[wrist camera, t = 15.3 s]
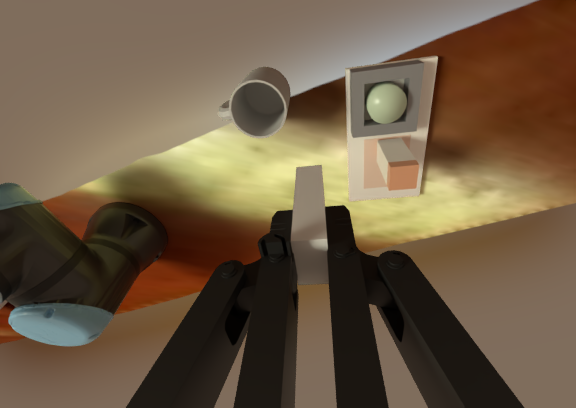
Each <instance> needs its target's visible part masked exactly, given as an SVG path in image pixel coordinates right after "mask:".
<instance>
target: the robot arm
mask: <svg viewBox="0 0 576 408" xmlns="http://www.w3.org/2000/svg"><path fill="white" fill-rule="evenodd" d="M42 203H43V202H42V201H41V200H37V199H36V198H35V197H34V196H33V195H31V194H30V193H29V192H28V191H27V190H26V189H24V188H23V187H22V186H20V185H18V184H14V183H3V184H0V304H1V303H2V302H3V301H5V300H6V301H8V302H9V303H11V304H12V305H14V306H15V307H16V308H15V309H14V310H13V311H12V312H11V315H10V317H9V324H10V325H11V326H12V328H13V329H14V330H15V331H16V332H18V333H20V334H21V335H23V336H26V337H28V338H30V339H33V340H36V341H39V342H43V343H47V344H52V345H59V346H79V345H84V344H87V343H90V342H92V341H94V340H95V339H96V338H98V336H99V335H100V334H101V333H102V331H103V330H104V329H105V327H106V326H107V325H108V323H109V322H110V321H111V320H112V319H113V316H114V314H115V312H116V311H117V309H118V308H119V306H120V304H121V303H122V301H123V299H124V298H125V296H126V294H127V293H128V291H129V290H130V288H131V286H132V285H133V283H134V281H135V280H136V278H137V277H138V275H139V274H140V273H141V272H142V271H143V270H145V269H146V268H147V267H148V266H150V265H151V264H152V263H153V262H155V261H156V260H157V259H158V258H159V257H160V256H161V255H162V253H163V251H164V250H165V248H166V246H167V241H168V239H167V234H166V231H165V229H164V227H163V226H162V224H161V223H160V222H159V221H158V220H157V219H156V218H155V217H154V216H153V215H152V214H150V213H149V212H147V211H146V210H144V209H142V208H140V207H137V206H135V205H131V204H127V203H109V204H106V205H104V206H102V207H101V208H99V209H98V210H97V211H96V212H95V213H94V214H93V215H92V217H91V218H90V220H89V222H88V225H87V229H86V231H85V233H84V236H83V238H82V240H80V239H79V238H78V237H77V236H76V235H75V234H74V233H73V232H72V231H71V230H70V229H69V228H68V227H66V226H65V225H64V224H63V223H62V222H61V221H60V220H59V219H58V218H57V217H56V216H55V215H54V214H53V213H51V212H50V211H49V210H48V209H47V208H46V207H45V206H44V205H43V204H42ZM258 246H259V250H260V254H261V259H259V260H258V261H256V262H253V263H251V264H247V265H243V264H242V263H241V262H239V261H236V260H230V261H227V262H224V263H222V264H221V265H219V266H218V267H217V268H216V270H215V271H214V273H213V274H212V276H211V277H210V279H209V280H208V282H207V283H206V285H205V287H204V288H203V290H202V291H201V293H200V294H199V296H198V297H197V299H196V300H195V302H194V303H193V305H192V307H191V308H190V310H189V311H188V313H187V314H186V316H185V317H184V319H183V320H182V322H181V323H180V325H179V327H178V328H177V330H176V331H175V333H174V334H173V336H172V337H171V339H170V340H169V342H168V344H167V345H166V347H165V348H164V350H163V351H162V353H161V354H160V356H159V357H158V359H157V361H156V362H155V364H154V365H153V367H152V368H151V370H150V371H149V373H148V374H147V376H146V377H145V379H144V381H143V382H142V384H141V385H140V387H139V388H138V390H137V391H136V393H135V394H134V396H133V397H132V399H131V400H130V402H129V404H128V405H127V407H126V408H214V406H215V403H216V401H217V399H218V397H219V395H220V392H221V390H222V388H223V386H224V383H225V381H226V379H227V376H228V374H229V372H230V370H231V367H232V365H233V363H234V360H235V358H236V356H237V354H238V351H239V349H240V347H241V345H242V342H243V339H244V338H245V336H246V333H247V338H246V343H245V348H244V354H243V359H242V365H241V370H240V375H239V381H238V386H237V392H236V397H235V403H234V408H295V379H296V351H297V323H298V321H297V320H298V290H297V280H298V285H310V284H329V292H330V308H331V323H332V338H333V354H334V368H335V384H336V399H337V408H389V407H388V402H387V397H386V391H385V386H384V381H383V376H382V371H381V365H380V360H379V355H378V350H377V344H376V339H375V334H374V329H373V324H372V319H371V313H370V308H369V304H372V305H376V306H377V309H378V311H379V313H380V315H381V317H382V318H383V320H384V322H385V324H386V326H387V328H388V330H389V332H390V334H391V336H392V338H393V340H394V342H395V344H396V346H397V348H398V350H399V351H400V353H401V355H402V357H403V359H404V361H405V363H406V365H407V367H408V369H409V371H410V373H411V375H412V377H413V379H414V381H415V383H416V385H417V386H418V389H419V391H420V393H421V394H422V396H423V398H424V400H425V402H426V404H427V406H428V408H524V407H523V405H522V404H521V403H520V401H519V400H518V399H517V397H516V396H515V395H514V393H513V392H512V391H511V389H510V388H509V387H508V385H507V384H506V383H505V382H504V380H503V379H502V378H501V376H500V375H499V374H498V373H497V371H496V370H495V368H494V367H493V366H492V364H491V363H490V362H489V360H488V359H487V358H486V357H485V355H484V354H483V353H482V351H481V350H480V349H479V347H478V346H477V345H476V343H475V342H474V341H473V339H472V338H471V337H470V335H469V334H468V333H467V331H466V330H465V329H464V327H463V326H462V325H461V324H460V322H459V321H458V320H457V318H456V317H455V316H454V314H453V313H452V312H451V310H450V309H449V308H448V306H447V305H446V304H445V302H444V301H443V300H442V299H441V297H440V296H439V295H438V293H437V292H436V291H435V289H434V288H433V287H432V286H431V284H430V283H429V281H428V280H427V279H426V278H425V277H424V275H423V274H422V272H421V271H420V270H419V268H418V267H417V266H416V264H415V263H414V262H413V260H412V259H411V258H410V257H409V256H408V255H407V254H405V253H402V252H400V251H394V250H393V251H387V252H384V253H382V254H381V255H380V256H379V257H375V256H371V255H367V254H365V253H363V252H361V251H360V250H359V249H358V248H357V246H356V244H355V238H354V233H353V228H352V223H351V217H350V212H349V210H348V209H347V208H346V207H345V206H344V205H342V206H329V207H325V200H324V188H323V175H322V165H315V166H305V167H297V168H296V180H295V193H294V205H293V210H286V211H277V212H276V213H275V215H274V216H273V217H272V222H271V228H270V233H268V234H266V235H264V236H263V237H262V238H261V239H260V240H259V242H258ZM247 331H248V332H247Z"/></svg>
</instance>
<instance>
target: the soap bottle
mask: <svg viewBox="0 0 576 408" xmlns="http://www.w3.org/2000/svg"><path fill="white" fill-rule="evenodd" d="M7 302H8V301H6V300H5V301H3V302H2V303H1V304H0V309H1V308H2V307H3V306H4V305H5V304H6V303H7Z"/></svg>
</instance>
